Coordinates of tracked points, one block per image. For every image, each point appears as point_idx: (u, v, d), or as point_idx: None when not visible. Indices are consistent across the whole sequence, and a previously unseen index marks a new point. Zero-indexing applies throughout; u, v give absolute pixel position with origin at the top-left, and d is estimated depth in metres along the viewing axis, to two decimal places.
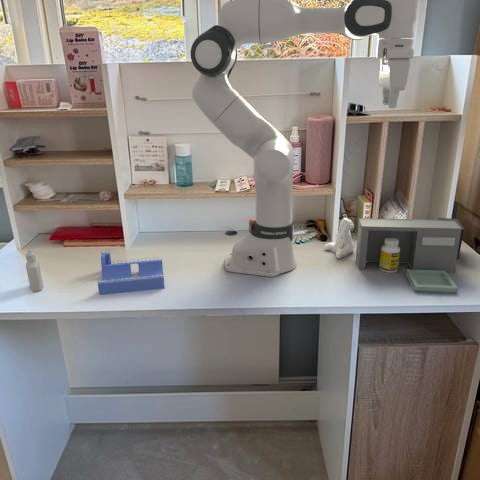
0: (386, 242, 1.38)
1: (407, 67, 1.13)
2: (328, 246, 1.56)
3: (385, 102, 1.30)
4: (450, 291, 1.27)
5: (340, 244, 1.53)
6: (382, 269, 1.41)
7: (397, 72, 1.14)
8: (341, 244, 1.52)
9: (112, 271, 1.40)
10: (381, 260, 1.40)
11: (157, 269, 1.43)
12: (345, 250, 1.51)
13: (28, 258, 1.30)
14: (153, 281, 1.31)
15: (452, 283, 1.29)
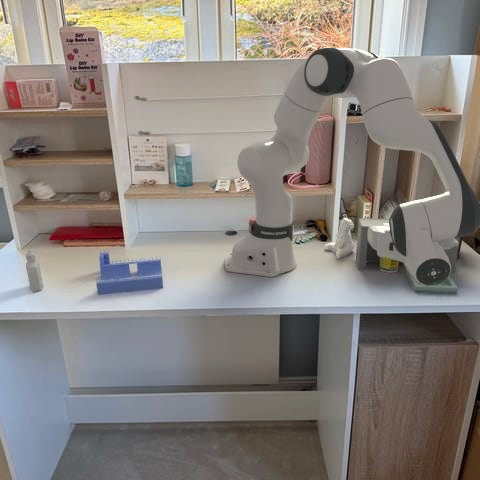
0: None
1: (371, 245, 1.17)
2: (328, 246, 1.56)
3: None
4: (450, 291, 1.27)
5: (340, 244, 1.53)
6: (382, 269, 1.41)
7: (370, 235, 1.17)
8: (341, 244, 1.52)
9: (111, 270, 1.40)
10: (381, 260, 1.40)
11: (156, 269, 1.43)
12: (345, 250, 1.51)
13: (28, 258, 1.30)
14: (152, 281, 1.32)
15: (452, 283, 1.29)
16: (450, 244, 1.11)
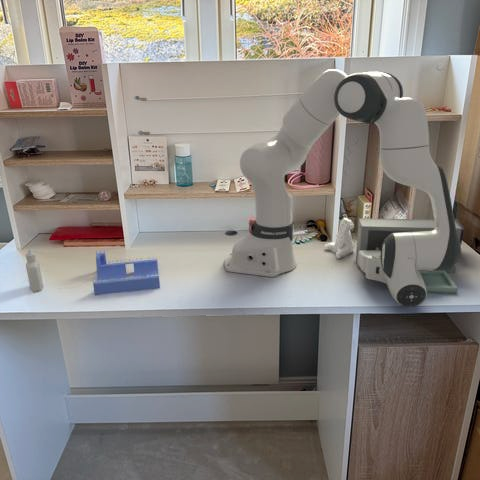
0: None
1: (361, 268, 1.33)
2: (328, 246, 1.56)
3: None
4: (450, 291, 1.27)
5: (340, 244, 1.53)
6: None
7: (360, 259, 1.33)
8: (341, 244, 1.52)
9: (107, 271, 1.40)
10: None
11: (152, 269, 1.43)
12: (345, 250, 1.51)
13: (28, 258, 1.30)
14: (149, 281, 1.32)
15: (452, 283, 1.29)
16: (429, 269, 1.27)
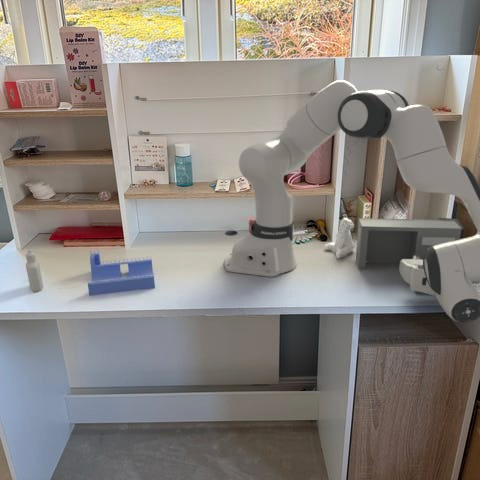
0: None
1: (404, 278, 1.23)
2: (328, 246, 1.56)
3: None
4: None
5: (340, 244, 1.53)
6: None
7: (403, 269, 1.23)
8: (341, 244, 1.52)
9: (101, 271, 1.40)
10: None
11: (147, 269, 1.43)
12: (345, 250, 1.51)
13: (28, 258, 1.30)
14: (143, 280, 1.32)
15: None
16: None
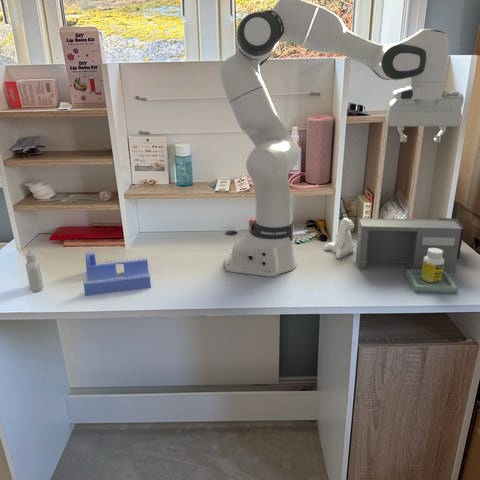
0: (429, 253, 1.28)
1: (391, 107, 1.32)
2: (328, 246, 1.56)
3: (434, 139, 1.36)
4: (450, 291, 1.27)
5: (340, 244, 1.53)
6: (424, 282, 1.31)
7: (388, 110, 1.35)
8: (341, 244, 1.52)
9: (97, 271, 1.40)
10: (423, 272, 1.31)
11: (143, 269, 1.43)
12: (345, 250, 1.51)
13: (28, 258, 1.30)
14: (139, 280, 1.32)
15: (452, 283, 1.29)
16: None
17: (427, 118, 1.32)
